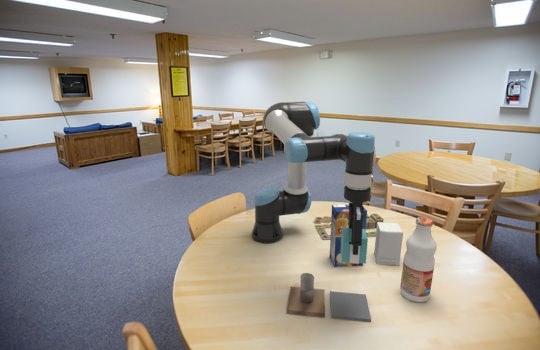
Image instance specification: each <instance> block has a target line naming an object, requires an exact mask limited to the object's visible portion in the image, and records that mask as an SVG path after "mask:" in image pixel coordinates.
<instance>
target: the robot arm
mask: <svg viewBox="0 0 540 350" xmlns="http://www.w3.org/2000/svg"><path fill="white" fill-rule="evenodd" d="M318 108H319V107H318V106H317V104H315V103H314V102H312V101H309V102H308V101H291V102H290V101H289V102H288V101H287V102H282V101H281V102H277V103H275V104H273V105H271V106H269V108H267V110H266V111H265V113H264V115H263V119H262V120H263V121H262V122H263V125H264V127H265V128H266V130H267V131H268V132H270V134H274V135H275V136H276V137H277V138H278V139H279V141H280V142H282V143H283V145H284V154H285V155H284V156H285V157H286V160H287V162H288V164H287V166H288V167H287V174H286V175H287V178H286V184H284V185H283V190H282V191H281V190H279V189H278V188H277V187H268V188H263V189H260V190H258V191H257V192H256V194H255V195H254V218H255V219H254V220H255V221H254V225H253V228H252V231H251V237H252V239H253V240H254V241H255V242H257V243H261V244H274V243H277V242H279V241H281V240H282V239H283V237H284V230H283V228H282V225H281V222H280V217H281V216H290V215H300V214H304V213H307V212H308V211H309V210H310V208H311V206H312V198H311V197H312V194H311V191H310V190H309V188H308V186H307V185H306V180H307V179H306V178H307V169H308V168H307V167H308V163H310V162H313V163H314V162H325V161H326V162H328V161H339V160H341V161H342V162H345V171H344V189H343V198H344V199H345V200H347V201H349V203H348V204H349V220H348V226H349V227H348V228H352V241H351V242H349V244H350V259H349V263H356V264H359V255H360V246H362V227H363V216H364V213H363V212H364V208H365V206H364V205H363V203H366V202H369V201H370V200H371V193H372V188H371V186H372V180H373V179H375V176H374V175H373V168H374V166H373V165H374V159H375V158H374V157H375V150H376V146H375V140H376V139H375V135H374V134H373V133H370V132H363V131H362V132H361V131H359V132H358V131H357V132H349V133H348V134H347V135H346V134H342V133H335V134H332V135H329V136H328V135H326V136H314V130H315V131H316V130H318V129H319V128H320V126H321V114H320V111H319V109H318Z"/></svg>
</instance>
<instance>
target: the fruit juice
mask: <svg viewBox="0 0 540 350" xmlns="http://www.w3.org/2000/svg"><path fill="white" fill-rule="evenodd" d="M433 224H434V222H433V220H432V219H430V218H427V217H417V218H416V220H415V225H416V226H415V229H414V231H413V232H412V233H411V234H410V235H409V236H408V237H407V239H406V241H405V243H406V244H405V246H406V251H405V253H404V255H403V263H402V270H401V278H400V285H399V286H400V287H399V290H400V294H401V295H402V296H403V297H404V298H406V299H407V300H409V301H412V302H416V303H424V302H427V301H428V300H429V299H430V296H431V291H432V290H431V289H432V285H433V284H432V283H433V277H434V269H435V264H436V263H435V262H436V259H435V253H436V251H437V242H436V240H435V238H434V237H433V235H432V227H433Z"/></svg>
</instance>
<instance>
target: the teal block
mask: <svg viewBox="0 0 540 350" xmlns="http://www.w3.org/2000/svg"><path fill="white" fill-rule="evenodd" d="M351 241H352V228H342V236H341V258H342V262H349V259H350V244H349V242H351ZM367 252H368V237H367V235H366V232H365V229H362V246H360V255H359V263H363V265H365V264H366V263H367V254H368V253H367Z"/></svg>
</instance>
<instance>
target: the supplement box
mask: <svg viewBox="0 0 540 350" xmlns="http://www.w3.org/2000/svg"><path fill="white" fill-rule="evenodd" d="M375 229H376V228H375ZM375 231H376V237H375V239H374V240H375V242H374V258H375V262H376V264H377V265H385V266H397V267H399V266H400V262H401V255H402V254H401V253H402V245H403V238H404V232H403V230H402V227H401V226H400V224H399V223H397V222H396V223H395V222H384V221H383V222H377V229H376V230H375Z"/></svg>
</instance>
